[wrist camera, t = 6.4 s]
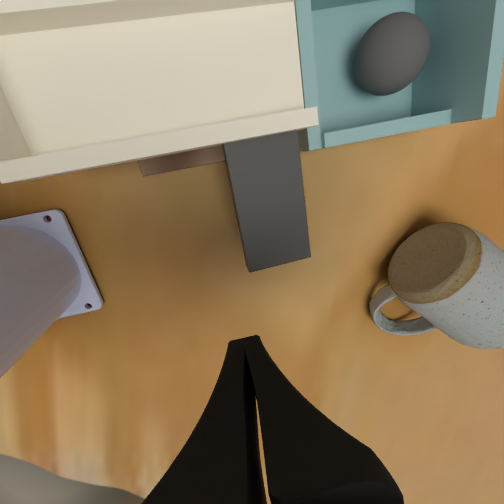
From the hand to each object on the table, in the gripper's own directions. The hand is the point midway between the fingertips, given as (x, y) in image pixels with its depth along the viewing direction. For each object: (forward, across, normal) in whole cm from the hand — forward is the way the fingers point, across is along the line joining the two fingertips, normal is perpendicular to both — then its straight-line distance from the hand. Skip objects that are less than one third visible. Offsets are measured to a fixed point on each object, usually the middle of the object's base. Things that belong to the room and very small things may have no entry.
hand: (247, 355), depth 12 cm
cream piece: (+6, +2, -8) cm, 10 cm away
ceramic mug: (+11, -16, +5) cm, 20 cm away
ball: (+8, -12, -12) cm, 19 cm away
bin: (+11, -11, -12) cm, 19 cm away
